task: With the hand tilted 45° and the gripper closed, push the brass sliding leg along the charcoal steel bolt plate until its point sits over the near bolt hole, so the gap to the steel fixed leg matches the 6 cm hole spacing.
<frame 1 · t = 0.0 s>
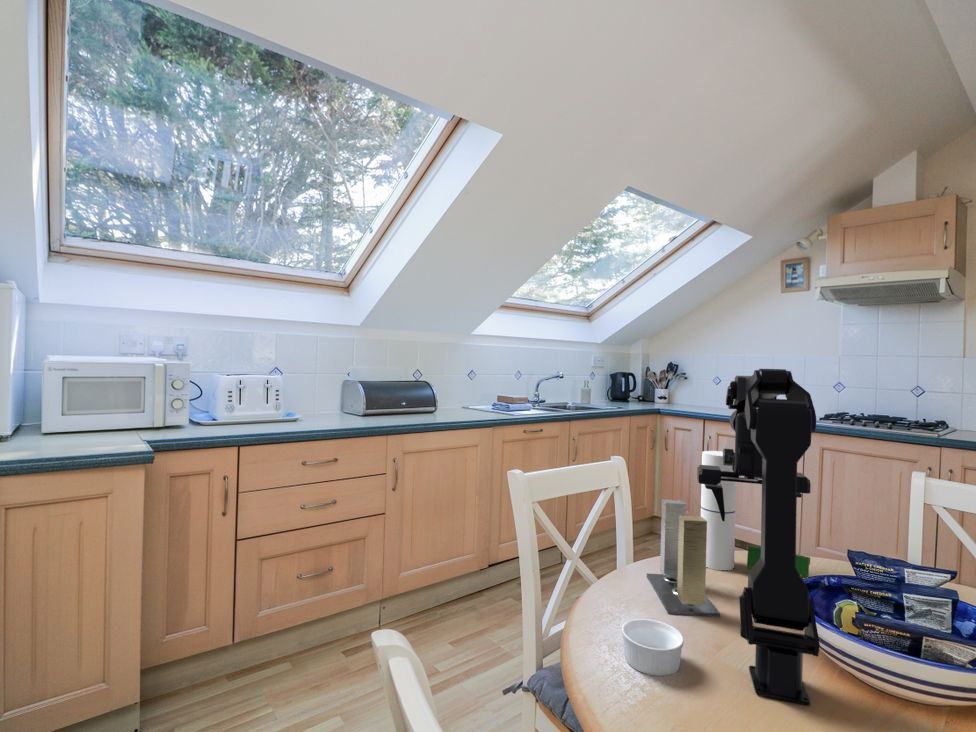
hand: (749, 523, 99), 15 cm above the table, tool pointing down, fingers open, 9 cm apart
cylindrical container: (716, 565, 117), on the table
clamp: (778, 577, 111), on the table
sliding leg: (691, 561, 94), point 9 cm above the table, slide at 0.0 cm
bolt plate: (680, 594, 100), on the table
ramekin: (651, 663, 77), on the table
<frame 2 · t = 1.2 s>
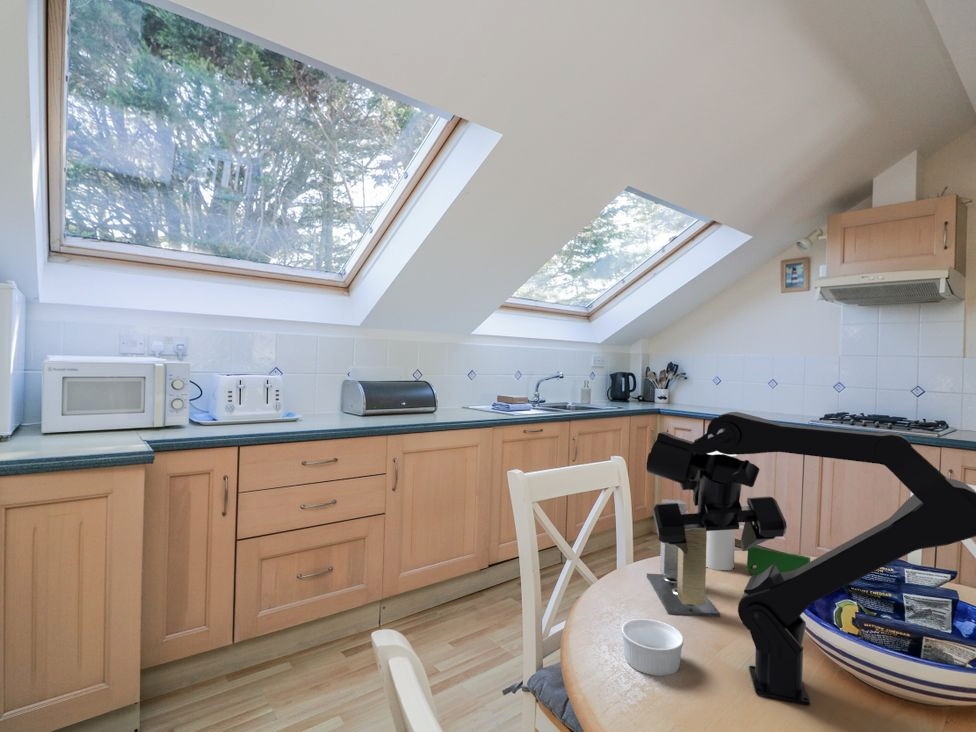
hand: (713, 549, 87), 13 cm above the table, tool tilted 40°, fingers open, 9 cm apart
nothing on the table moved.
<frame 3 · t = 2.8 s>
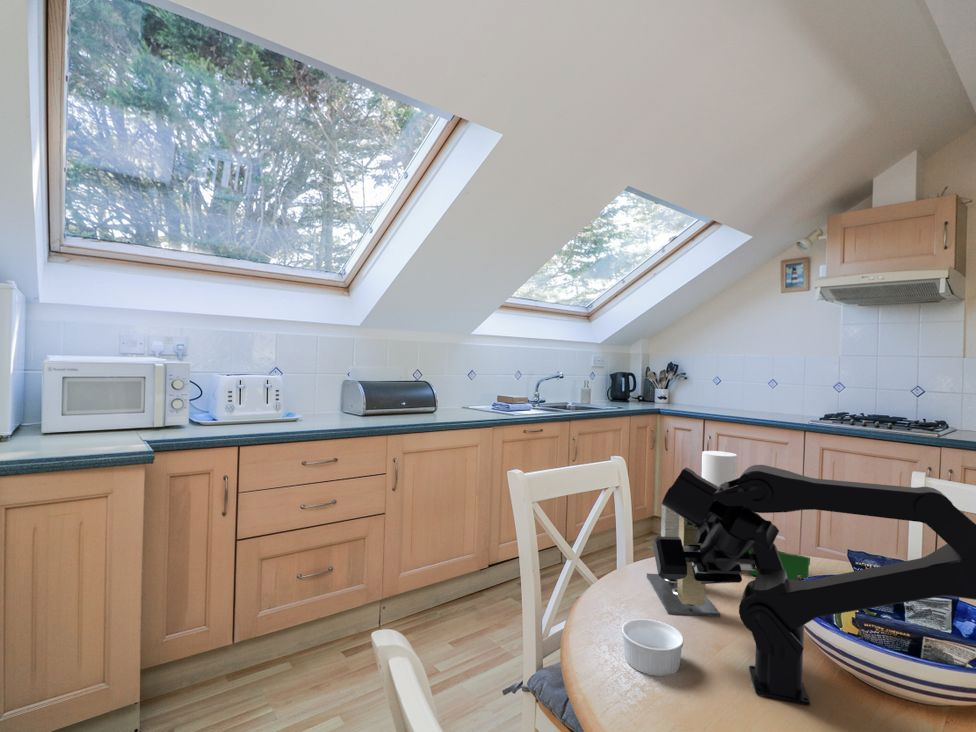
hand: (702, 580, 88), 8 cm above the table, tool tilted 45°, fingers closed
nothing on the table moved.
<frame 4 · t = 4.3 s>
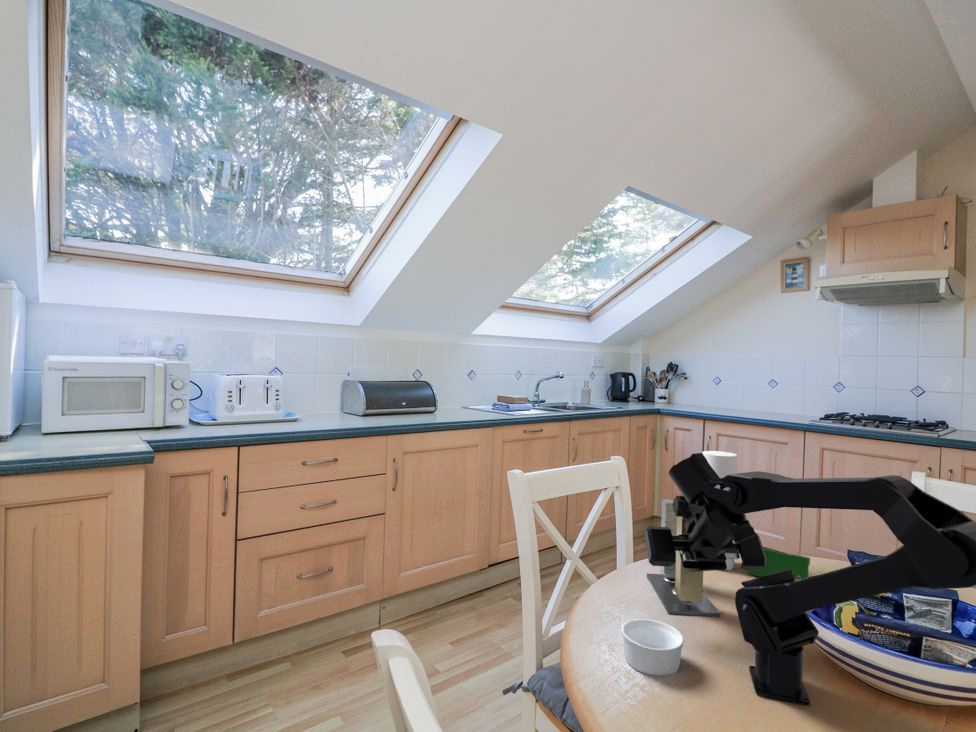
hand: (691, 568, 94), 8 cm above the table, tool tilted 45°, fingers closed, pressing on sliding leg
sliding leg: (689, 558, 95), point 9 cm above the table, slide at 1.3 cm, touching gripper
everything else where it was.
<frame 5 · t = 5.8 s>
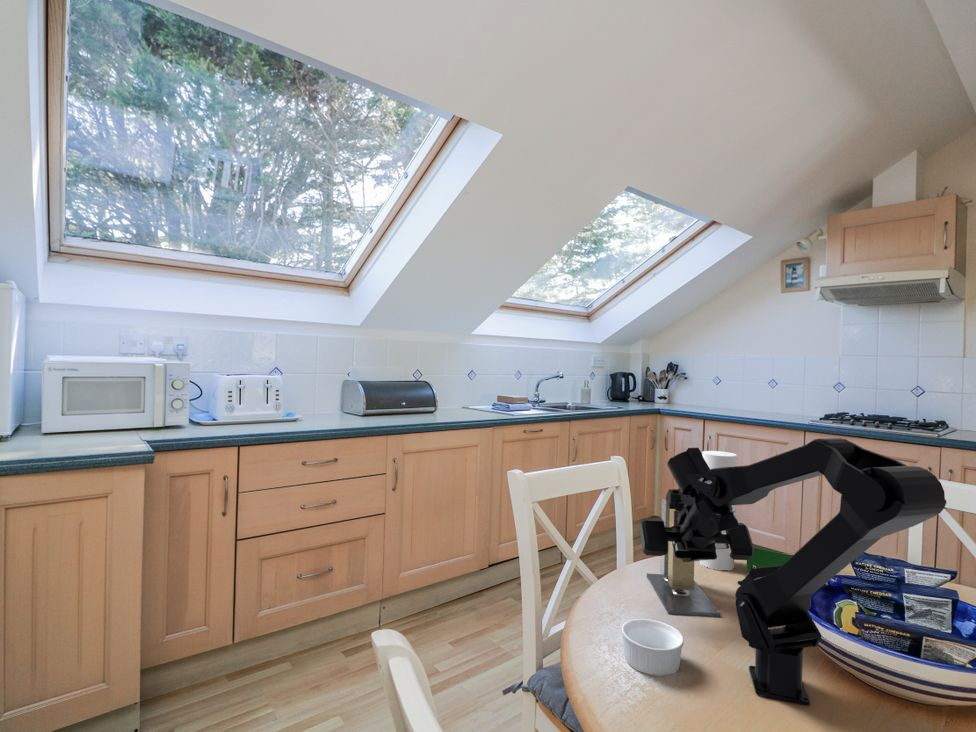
hand: (684, 559, 98), 8 cm above the table, tool tilted 45°, fingers closed, pressing on sliding leg
sliding leg: (681, 549, 100), point 9 cm above the table, slide at 6.2 cm, touching gripper
everything else where it was.
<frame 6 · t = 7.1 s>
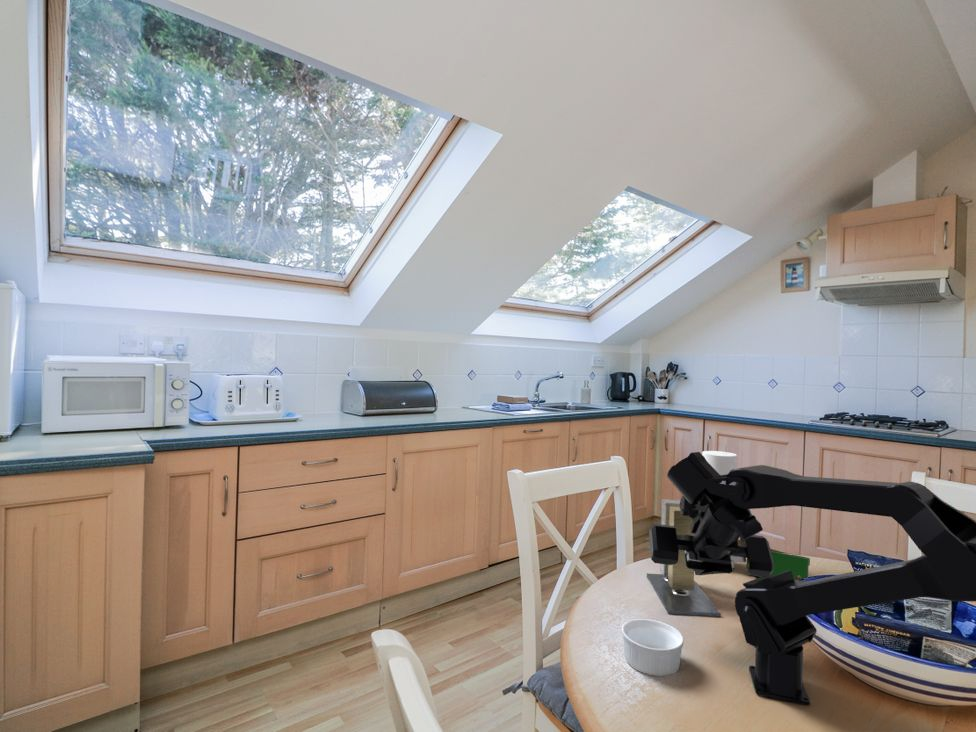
hand: (697, 572, 91), 8 cm above the table, tool tilted 45°, fingers closed
sliding leg: (681, 549, 100), point 9 cm above the table, slide at 6.2 cm
everything else where it was.
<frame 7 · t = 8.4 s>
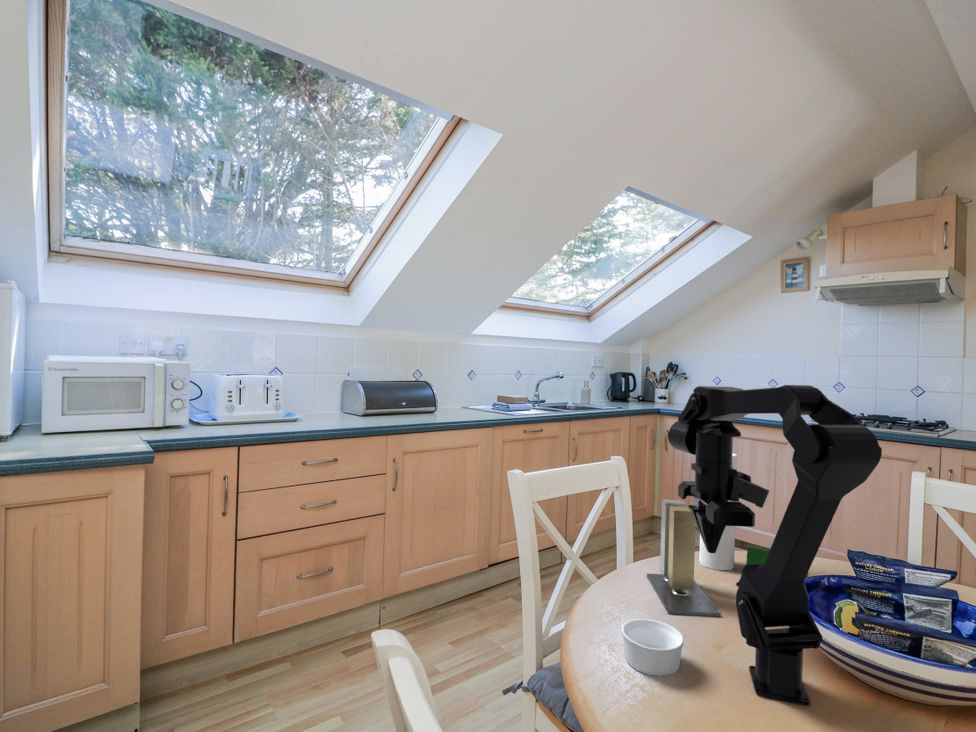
hand: (711, 552, 88), 13 cm above the table, tool pointing down, fingers closed
nothing on the table moved.
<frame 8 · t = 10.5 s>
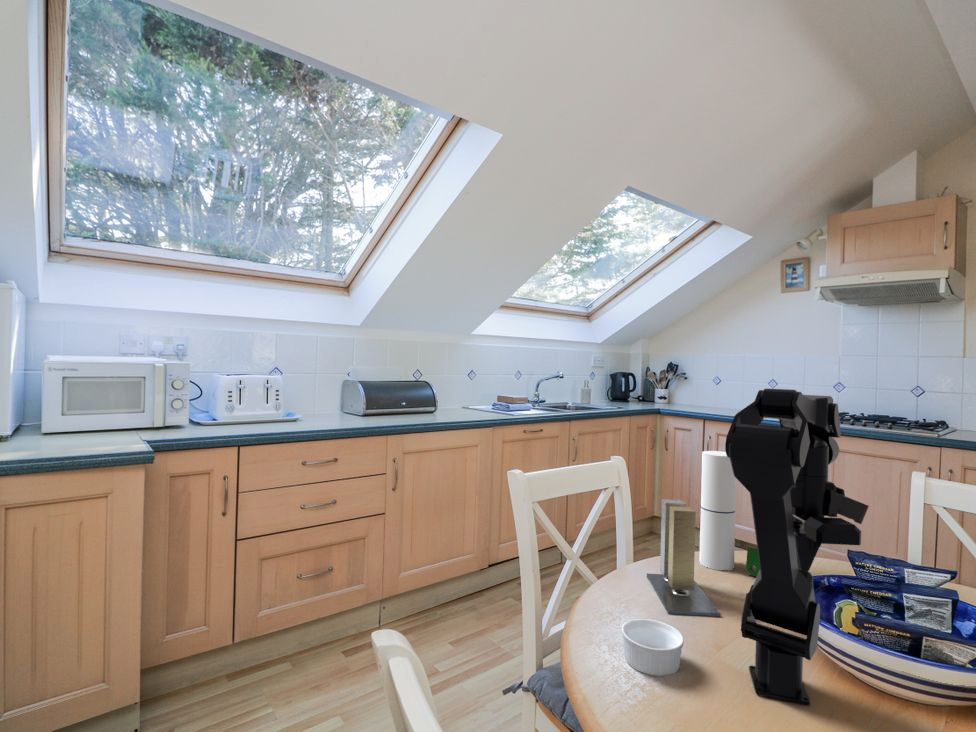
hand: (804, 570, 83), 12 cm above the table, tool pointing down, fingers closed
nothing on the table moved.
at the end: sliding leg slide at 6.2 cm; the gripper is holding nothing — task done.
